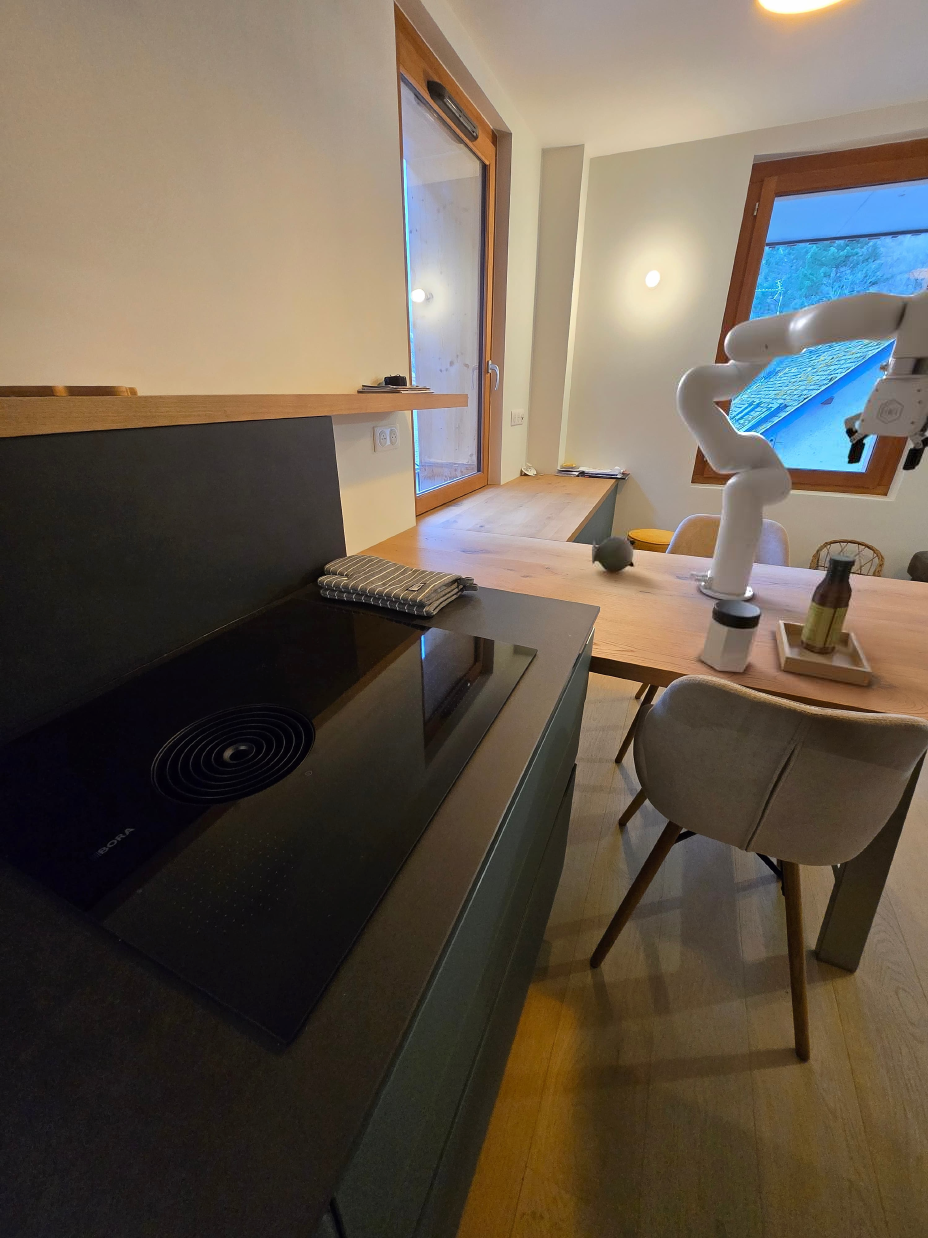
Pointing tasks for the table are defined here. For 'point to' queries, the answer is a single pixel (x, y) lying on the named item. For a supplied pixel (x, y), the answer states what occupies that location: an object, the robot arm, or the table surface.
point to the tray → (822, 656)
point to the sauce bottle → (829, 607)
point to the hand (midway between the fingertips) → (879, 466)
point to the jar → (731, 635)
